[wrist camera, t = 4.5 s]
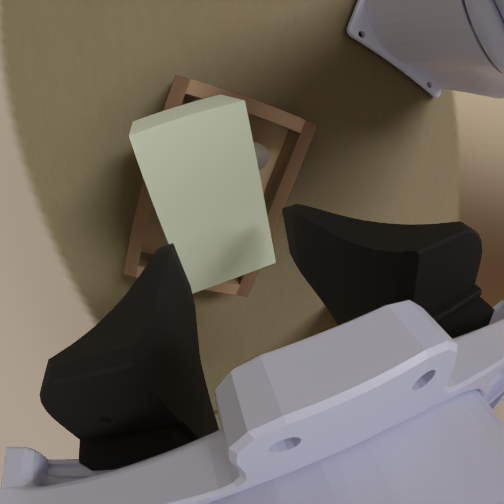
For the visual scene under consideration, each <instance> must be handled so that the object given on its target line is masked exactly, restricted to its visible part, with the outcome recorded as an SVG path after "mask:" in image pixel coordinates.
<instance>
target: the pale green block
mask: <svg viewBox="0 0 504 504" xmlns="http://www.w3.org/2000/svg"><path fill="white" fill-rule="evenodd" d="M129 138H130V141H131V144H132V147H133V150H134V153H135V156H136V159H137V161H138V164H139V167H140V170H141V173H142V176H143V178H144V181H145V184H146V187H147V189H148V192H149V195H150V197H151V200H152V203H153V205H154V208H155V210H156V213H157V216H158V218H159V221H160V223H161V226H162V228H163V231H164V233H165V236H166V238H167V241H168V243H169V244H172V243H173V244H174V246H175V249H176V251H177V254H178V256H179V259H180V261H181V264H182V266H183V269H184V271H185V274H186V276H187V279H188V281H189V283H190V286H191V290H192V294H193V293H196V292H198V291H201V290H204V289H207V288H209V287H212V286H215V285H217V284H220V283H223V282H226V281H228V280H231V279H234V278H236V277H239V276H242V275H245V274H247V273H250V272H253V271H255V270H258V269H261V268H263V267H266V266H269V265H271V264H274V263H276V260H275V255H274V249H273V244H272V238H271V233H270V227H269V222H268V216H267V211H266V205H265V200H264V195H263V190H262V184H261V179H260V174H259V169H258V163H257V158H256V153H255V148H254V143H253V138H252V133H251V128H250V123H249V118H248V113H247V108H246V104H245V100H241V99H237V98H233V97H229V96H225V95H221V94H220V95H216V96H212V97H208V98H205V99H201V100H197V101H194V102H190V103H187V104H184V105H180V106H177V107H174V108H171V109H168V110H164V111H161V112H158V113H155V114H153V115H150V116H147V117H144V118H141V119H138V120H136V121H133V123H132V126H131V130H130V134H129Z"/></svg>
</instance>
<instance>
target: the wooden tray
mask: <svg viewBox="0 0 504 504" xmlns="http://www.w3.org/2000/svg"><path fill="white" fill-rule="evenodd" d="M220 94H221V95H225V96H229V97H233V98H237V99H241V100H245V104H246V108H247V113H248V118H249V123H250V128H251V133H252V138H253V143H254V148H255V153H256V158H257V163H258V169H259V174H260V179H261V184H262V190H263V195H264V200H265V205H266V211H267V216H268V222H269V227H270V233H271V238H272V237H273V234H274V232H275V229H276V227H277V225H278V222H279V220H280V217H281V215H282V212H283V211H282V208H285V205H286V203H287V200H288V198H289V195H290V193H291V190H292V188H293V186H294V183H295V181H296V178H297V176H298V173H299V171H300V168H301V166H302V163H303V161H304V158H305V156H306V153H307V151H308V149H309V146H310V144H311V141H312V139H313V136H314V134H315V131H316V129H317V126H318V125H316V124H314V123H311V122H309V121H307V120H305V119H302V118H300V117H298V116H295V115H293V114H290V113H288V112H285V111H283V110H281V109H278V108H275V107H273V106H270V105H268V104H265V103H262V102H260V101H257V100H254V99H252V98H249V97H246V96H243V95H240V94H237V93H234V92H231V91H228V90H225V89H222V88H219V87H216V86H213V85H210V84H206V83H203V82H200V81H196V80H193V79H189V78H185V77H182V76H178V75H175V78H174V81H173V83H172V86H171V89H170V92H169V94H168V97H167V100H166V103H165V106H164V109H163V111H164V110H168V109H171V108H174V107H177V106H180V105H184V104H187V103H190V102H194V101H197V100H201V99H205V98H208V97H212V96H216V95H220ZM166 245H169V243H168V241H167V238H166V236H165V233H164V231H163V228H162V226H161V223H160V221H159V218H158V216H157V213H156V210H155V208H154V205H153V203H152V200H151V197H150V195H149V192H148V189H147V187H146V184H145V181H144V178H143V181H142V185H141V189H140V193H139V198H138V202H137V206H136V211H135V215H134V220H133V225H132V230H131V235H130V240H129V245H128V250H127V256H126V262H125V268H124V274H123V275H127V276H132V277H137V278H138V277H139V276H140V274H141V273H142V271H143V270H144V268H145V267H146V265H147V264H148V262H149V261H150V259H151V258H152V256H153V254H154V253H155V251H156V250H157V249H158V248H160V247H163V246H166ZM258 270H259V269H258ZM258 270H255V271H253V272H250V273H247V274H245V275H242V276H239V277H236V278H234V279H231V280H228V281H226V282H223V283H220V284H217V285H215V286H212V287H209V288H207V289H204V290H208V291H214V292H220V293H226V294H232V295H239V296H245V297H247V296H248V294H249V292H250V289H251V287H252V284H253V282H254V280H255V277H256V275H257V273H258Z"/></svg>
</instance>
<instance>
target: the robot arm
mask: <svg viewBox="0 0 504 504" xmlns="http://www.w3.org/2000/svg"><path fill="white" fill-rule="evenodd" d="M359 32H360V33H361V34H362V37H360V36H359ZM347 33H348V35H349V36H350V37H352V38H353V39H355V40H357V41H358V42H360V43H361V44H363V45H365V46H366V47H368V48H369V49H371V50H372V51H374V52H375V53H377V54H378V55H380V56H381V57H383V58H384V59H385V60H387V61H388V62H390V63H391V64H392V65H394V66H395V67H397V68H398V69H399V70H401V71H402V72H403V73H405V74H406V75H407V76H408V77H410V78H411V79H412V80H414V81H415V82H416V83H417V84H418V85H420V86H421V87H422V88H423V89H425V90H426V91H427V92H428V93H429V94H430V95H432V96H433V97H439V96H440V93H441V90H442V89H449V90H455V91H461V92H467V93H473V94H478V95H483V96H488V97H492V98H504V0H358V1H357V3H356V6H355V8H354V11H353V14H352V16H351V19H350V21H349V24H348V26H347ZM427 83H428V85H427ZM282 211H283V217H284V222H285V228H286V233H287V239H288V244H289V250H290V254H291V256H292V258H293V260H294V261H295V263H296V265H297V267H298V269H299V270H300V272H301V273H302V275H303V276H304V278H305V279H306V280H307V282H308V283H309V284H310V286H311V287H312V288H313V289H314V291H315V292H316V293H317V295H318V296H319V297H320V299H321V300H322V301H323V303H324V304H325V305H326V307H327V308H328V310H329V311H330V312H331V314H332V315H333V317H334V319H335V321H336V322H337V324H338V326H336V327H334V328H331V329H329V330H326V331H324V332H321V333H319V334H316V335H313V336H311V337H308V338H306V339H303V340H300V341H298V342H295V343H292V344H289V345H287V346H284V347H281V348H278V349H275V350H273V351H270V352H267V353H264V354H261V355H259V356H257V357H255V358H253V359H251V360H249V361H247V362H245V363H243V364H241V365H240V366H238V367H236V368H234V369H232V370H231V371H230V372H229V374H228V375H227V376H226V377H225V378H224V380H223V381H222V382H221V383H220V385H219V386H218V387H217V388H216V389H215V395H216V406H217V411H218V415H219V420H220V424H221V429H220V430H219V428H218V425H217V422H216V418H215V415H214V412H213V408H212V405H211V401H210V397H209V394H208V390H207V386H206V382H205V378H204V374H203V369H202V365H201V360H200V354H199V345H198V334H197V323H196V312H195V304H194V299H193V295H192V290H191V286H190V283H189V281H188V279H187V276H186V274H185V271H184V269H183V266H182V264H181V261H180V259H179V256H178V254H177V251H176V249H175V246H174V244H173V243H172V244H169V245H166V246H163V247H160V248H158V249H157V250H156V251H155V253H154V254H153V256H152V258H151V259H150V261H149V262H148V264H147V265H146V267H145V268H144V270H143V271H142V273H141V274H140V276H139V277H138V279H137V280H136V281H135V283H134V284H133V286H132V287H131V288H130V290H129V291H128V292H127V294H126V295H125V296H124V297H123V298H122V300H121V301H120V302H119V303H118V304H117V305H116V306H115V308H114V309H113V310H112V311H111V312H110V313H109V314H107V315H106V316H105V317H104V318H103V319H102V320H101V321H100V322H99V323H98V324H97V325H96V326H95V327H94V328H92V329H91V330H90V331H89V332H88V333H86V334H85V335H84V336H83V337H81V338H80V339H79V340H77V341H76V342H75V343H73V344H72V345H71V346H69V347H67V348H66V349H64V350H63V351H61V352H60V353H58V354H57V355H55V356H54V357H52V358H50V359H49V360H48V364H47V368H46V371H45V375H44V379H43V383H42V387H41V391H40V398H41V403H42V404H43V406H44V408H45V409H46V411H47V412H48V413H49V414H50V415H51V416H52V417H53V418H54V419H55V420H56V421H57V422H58V423H60V424H61V425H62V426H63V427H65V428H66V429H67V430H68V431H70V432H71V433H72V434H74V435H75V436H76V437H77V438H79V439H80V448H79V459H66V460H48V459H47V458H46V457H45V456H43V455H42V454H40V453H39V452H37V451H36V450H33V449H30V448H26V447H7V448H6V453H5V460H4V466H3V474H2V483H1V493H0V504H504V423H503V422H502V421H501V419H500V418H499V417H498V415H497V414H496V413H495V411H494V410H493V409H494V408H495V407H496V406H497V405H498V404H499V403H500V402H501V401H502V400H503V399H504V299H503V300H502V301H501V302H499V303H498V304H497V305H495V306H494V307H493V308H492V307H491V306H490V305H489V304H488V303H486V302H485V301H484V300H483V299H482V298H481V297H480V295H481V292H482V291H481V289H480V288H479V287H478V286H477V285H476V284H475V281H476V277H477V273H478V269H479V265H480V261H481V254H482V243H481V239H480V236H479V234H478V233H477V232H476V231H475V230H473V229H472V228H470V227H468V226H467V225H465V224H464V223H462V222H450V223H440V224H425V225H402V224H387V223H378V222H371V221H364V220H359V219H354V218H349V217H345V216H341V215H337V214H333V213H330V212H326V211H322V210H319V209H315V208H312V207H308V206H304V205H299V204H296V205H292V206H289V207H286V208H282Z"/></svg>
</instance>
